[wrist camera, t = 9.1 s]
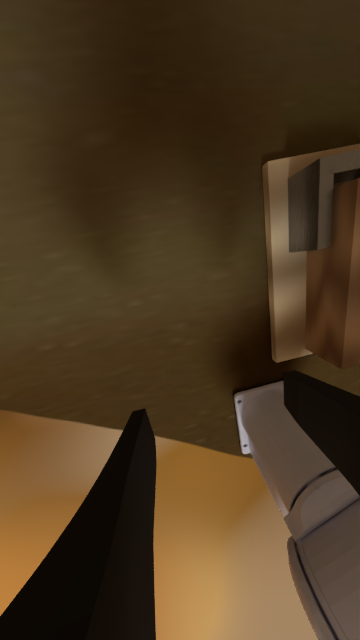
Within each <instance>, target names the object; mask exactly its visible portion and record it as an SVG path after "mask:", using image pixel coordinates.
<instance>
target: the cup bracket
mask: <svg viewBox="0 0 360 640" xmlns="http://www.w3.org/2000/svg"><path fill="white" fill-rule="evenodd" d="M358 178H360V150H357V151H352V152H347V153H342V154H337V155H331V156H326V157H321V158H319V159H317V160H316V161H314V162H313V163H311V164H310V165H308V166H307V167H305V168H304V169H302V170H301V171H299V172H298V173H296V174H295V175H293V176H291V177H290V178H288V222H289V253H291V252H302V251H313V250H320V249H324V248H329V247H330V240H331V220H332V200H333V184H336V183H341V182H346V181H351V180H355V179H358Z"/></svg>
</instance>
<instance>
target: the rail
mask: <svg viewBox="0 0 360 640" xmlns="http://www.w3.org/2000/svg"><path fill="white" fill-rule="evenodd" d="M305 349H307V350H308V351H310V352H312V353H314V354H316V355H317V356H319V357H321V358H323V359H324V360H326V361H328V362H330V363H331V364H333V365H335V366H337V367H338V368H340V369H345V368H349V367H352V366H356V365H360V178H358V179H355V180H353V181H351V182H348V183H346V184H344V185H341V186H339V187H337V188H334V189H333V200H332V220H331V240H330V247H329V248H324V249H320V250H313V251H307V262H306V340H305Z"/></svg>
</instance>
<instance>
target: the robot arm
mask: <svg viewBox="0 0 360 640" xmlns="http://www.w3.org/2000/svg"><path fill="white" fill-rule="evenodd" d="M238 400H240V401H238ZM234 403H235V410H236V417H237V424H238V431H239V439H240V446H241V451H242V453H243V454H247V453H251V454H252V456H253V458H254V460H255V462H256V464H257V466H258V468H259V470H260V472H261V474H262V476H263V478H264V480H265V482H266V484H267V486H268V488H269V490H270V492H271V494H272V496H273V498H274V500H275V502H276V504H277V506H278V508H279V509H280V511H281V512H282V514H283V515H284V516H285V517H284V520H285V522H286V524H287V526H288V528H289V530H290V532H291V534H292V536H291V537H289V539H288V541H287V549H288V556H289V565H290V570H291V574H292V578H293V581H294V584H295V587H296V590H297V593H298V595H299V598H300V600H301V603H302V605H303V608H304V610H305V612H306V614H307V617H308V619H309V621H310V623H311V625H312V628H313V630H314V632H315V634H316V636H317V638H318V640H360V396H357V395H354V394H352V393H349V392H347V391H344V390H342V389H339V388H337V387H335V386H332V385H330V384H327V383H325V382H322V381H320V380H318V379H315V378H313V377H310V376H308V375H305V374H303V373H300V372H298V371H295V370H294V371H290V372H286V373H283V381H280V382H276V383H272V384H268V385H264V386H261V387H257V388H253V389H249V390H246V391H242V392H238V393H236V394H235V395H234ZM155 485H156V445H155V437H154V434H153V431H152V428H151V425H150V422H149V418H148V415H147V412H146V409H141V410H137V411H133V412H132V414H131V416H130V418H129V420H128V422H127V424H126V426H125V428H124V430H123V432H122V434H121V436H120V438H119V440H118V442H117V444H116V446H115V448H114V450H113V452H112V454H111V455H110V457H109V459H108V461H107V463H106V464H105V466H104V468H103V470H102V472H101V473H100V475H99V477H98V478H97V480H96V482H95V483H94V485H93V487H92V488H91V490H90V492H89V493H88V495H87V497H86V498H85V500H84V501H83V503H82V504H81V506H80V507H79V509H78V511H77V512H76V514H75V515H74V517H73V518H72V520H71V521H70V523H69V524H68V526H67V527H66V529H65V530H64V531H63V533H62V534H61V536H60V537H59V539H58V540H57V541H56V543H55V544H54V546H53V547H52V548H51V550H50V551H49V553H48V554H47V556H46V557H45V558H44V560H43V561H42V562H41V564H40V565H39V567H38V568H37V569H36V571H35V572H34V573H33V575H32V576H31V577H30V578H29V580H28V581H27V582H26V584H25V585H24V586H23V588H22V589H21V590H20V592H19V593H18V594H17V595H16V597H15V598H14V599H13V601H12V602H11V603H10V605H9V606H8V607H7V608H6V610H5V611H4V612H3V614H2V615H1V616H0V640H156V632H155V599H154V563H153V562H154V558H153V528H154V507H155Z"/></svg>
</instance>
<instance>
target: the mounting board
mask: <svg viewBox="0 0 360 640" xmlns="http://www.w3.org/2000/svg"><path fill="white" fill-rule="evenodd" d="M357 150H360V144H355V145H350V146H345V147H340V148H334V149H329V150H324V151H319V152H314V153H309V154H303V155H298V156H293V157H288V158H283V159H278V160H272V161H268V162H267V163H266V164H264V165H263V166H262V176H263V195H264V214H265V233H266V252H267V271H268V289H269V308H270V327H271V346H272V359H273V360H274V361H275V362H276V363H278V362H282V361H286V360H290V359H294V358H298V357H302V356H306V355H309V354H313V353H312V352H310V351H308V350H307V349H305V340H306V262H307V251H302V252H291V253H289V222H288V178H290V177H291V176H293V175H295V174H296V173H298V172H299V171H301V170H302V169H304V168H305V167H307V166H308V165H310V164H311V163H313V162H314V161H316V160H317V159H319V158H321V157H326V156H331V155H337V154H342V153H347V152H352V151H357ZM351 181H353V180H351ZM351 181H346V182H341V183H336V184H333V189H334V188H337V187H339V186H341V185H344V184H346V183H348V182H351Z"/></svg>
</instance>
